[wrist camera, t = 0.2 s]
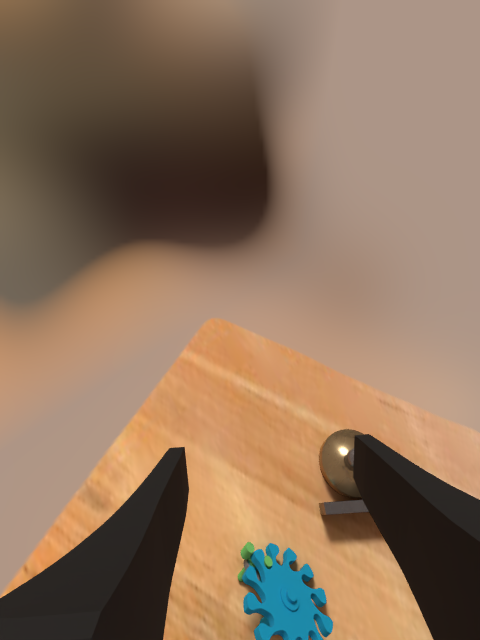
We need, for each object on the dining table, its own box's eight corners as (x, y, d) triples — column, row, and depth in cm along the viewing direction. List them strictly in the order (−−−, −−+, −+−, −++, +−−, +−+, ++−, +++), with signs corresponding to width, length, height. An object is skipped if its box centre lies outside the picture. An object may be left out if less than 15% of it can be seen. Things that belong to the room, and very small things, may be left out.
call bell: (388, 495, 37) (405, 493, 33) (326, 499, 37) (335, 498, 33) (369, 430, 42) (382, 421, 37) (313, 434, 42) (320, 425, 37)
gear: (350, 613, 30) (308, 707, 22) (320, 642, 32) (270, 738, 24) (276, 516, 36) (222, 563, 28) (254, 544, 38) (197, 596, 30)
